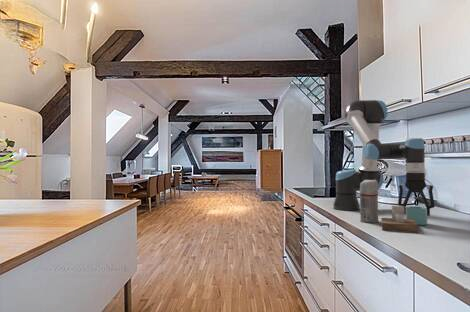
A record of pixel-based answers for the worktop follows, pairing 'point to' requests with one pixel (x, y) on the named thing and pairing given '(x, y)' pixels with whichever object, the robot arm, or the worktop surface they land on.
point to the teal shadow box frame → (417, 214)
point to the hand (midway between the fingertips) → (416, 222)
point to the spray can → (369, 201)
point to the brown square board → (399, 221)
